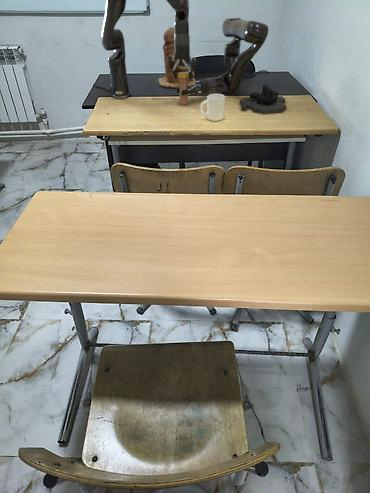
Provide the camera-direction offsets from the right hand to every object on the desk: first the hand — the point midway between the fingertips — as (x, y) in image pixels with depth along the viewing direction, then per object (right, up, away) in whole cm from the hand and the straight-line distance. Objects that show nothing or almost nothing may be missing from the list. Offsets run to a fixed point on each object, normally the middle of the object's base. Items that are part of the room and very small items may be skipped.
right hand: (179, 91), depth 188 cm
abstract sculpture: (+45, -8, -2) cm, 45 cm away
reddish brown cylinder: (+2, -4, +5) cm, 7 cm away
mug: (+16, -19, -13) cm, 28 cm away
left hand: (+2, +5, -4) cm, 7 cm away
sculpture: (-2, +21, +36) cm, 42 cm away
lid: (+2, +7, -4) cm, 9 cm away
